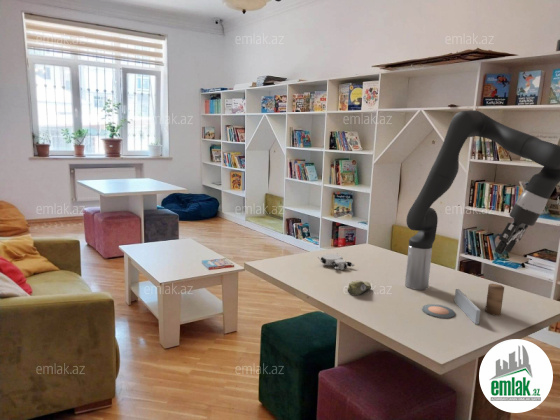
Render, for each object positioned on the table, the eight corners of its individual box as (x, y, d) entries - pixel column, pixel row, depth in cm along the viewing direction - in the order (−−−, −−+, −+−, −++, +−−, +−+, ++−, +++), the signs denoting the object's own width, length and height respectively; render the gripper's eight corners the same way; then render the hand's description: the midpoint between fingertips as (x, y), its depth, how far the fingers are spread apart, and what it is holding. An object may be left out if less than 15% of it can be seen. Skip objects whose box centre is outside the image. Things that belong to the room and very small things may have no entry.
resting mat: (418, 304, 158) (418, 303, 158) (448, 306, 157) (448, 304, 157) (427, 317, 147) (427, 315, 147) (459, 319, 147) (459, 317, 146)
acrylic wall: (454, 301, 163) (455, 288, 162) (457, 301, 163) (458, 289, 162) (475, 324, 143) (476, 310, 142) (478, 324, 143) (480, 310, 142)
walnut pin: (483, 309, 156) (486, 283, 154) (496, 310, 156) (500, 284, 154) (488, 315, 151) (492, 288, 149) (503, 315, 151) (506, 289, 149)
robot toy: (355, 271, 198) (335, 260, 210) (356, 262, 197) (336, 251, 209) (335, 274, 192) (315, 263, 204) (336, 265, 191) (316, 254, 203)
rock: (368, 290, 175) (344, 285, 175) (371, 275, 174) (347, 271, 173) (372, 300, 164) (347, 295, 164) (376, 285, 163) (351, 280, 163)
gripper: (523, 202, 139) (498, 244, 145) (509, 201, 129) (483, 247, 135) (546, 212, 135) (520, 256, 140) (534, 213, 125) (506, 260, 130)
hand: (502, 251), depth 137 cm, fingers open, 8 cm apart
